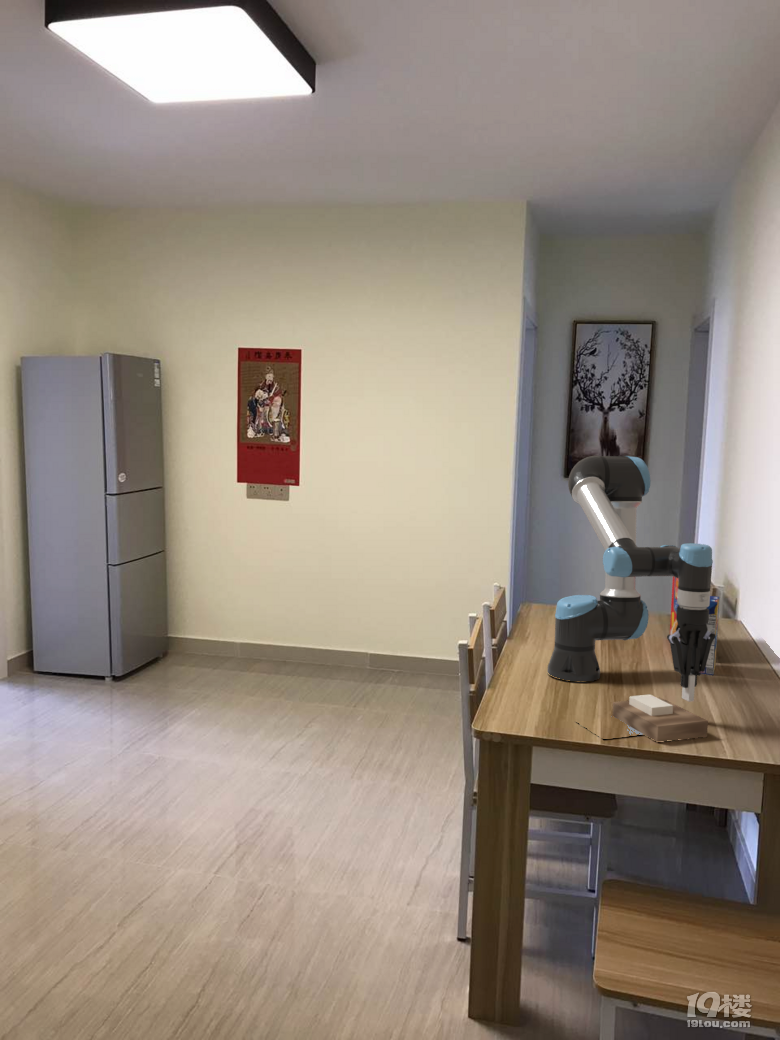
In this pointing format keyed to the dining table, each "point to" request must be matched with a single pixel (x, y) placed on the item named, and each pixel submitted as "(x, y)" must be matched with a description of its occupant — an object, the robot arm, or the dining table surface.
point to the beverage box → (713, 628)
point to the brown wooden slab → (662, 722)
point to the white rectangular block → (651, 705)
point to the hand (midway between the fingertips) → (687, 699)
